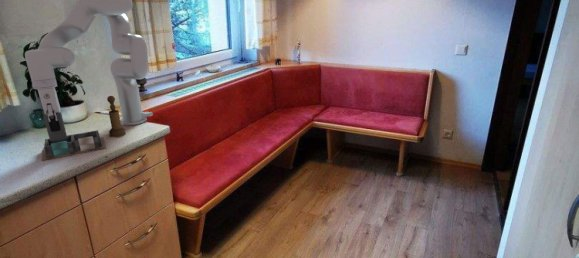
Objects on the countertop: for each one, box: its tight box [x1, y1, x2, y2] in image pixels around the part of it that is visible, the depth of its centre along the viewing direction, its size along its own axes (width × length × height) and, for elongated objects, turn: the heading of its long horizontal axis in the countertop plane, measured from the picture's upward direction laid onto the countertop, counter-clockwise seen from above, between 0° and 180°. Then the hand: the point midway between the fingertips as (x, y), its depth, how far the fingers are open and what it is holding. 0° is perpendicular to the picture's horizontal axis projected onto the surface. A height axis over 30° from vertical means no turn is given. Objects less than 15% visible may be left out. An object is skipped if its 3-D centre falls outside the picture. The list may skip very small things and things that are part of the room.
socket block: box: [41, 130, 107, 162], centre depth 140 cm, size 22×14×6 cm, turn 122°
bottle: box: [42, 105, 67, 142], centre depth 135 cm, size 6×6×15 cm
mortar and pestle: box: [106, 95, 127, 138], centre depth 153 cm, size 7×6×18 cm
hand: (56, 128), depth 136 cm, fingers closed on bottle, 5 cm apart
